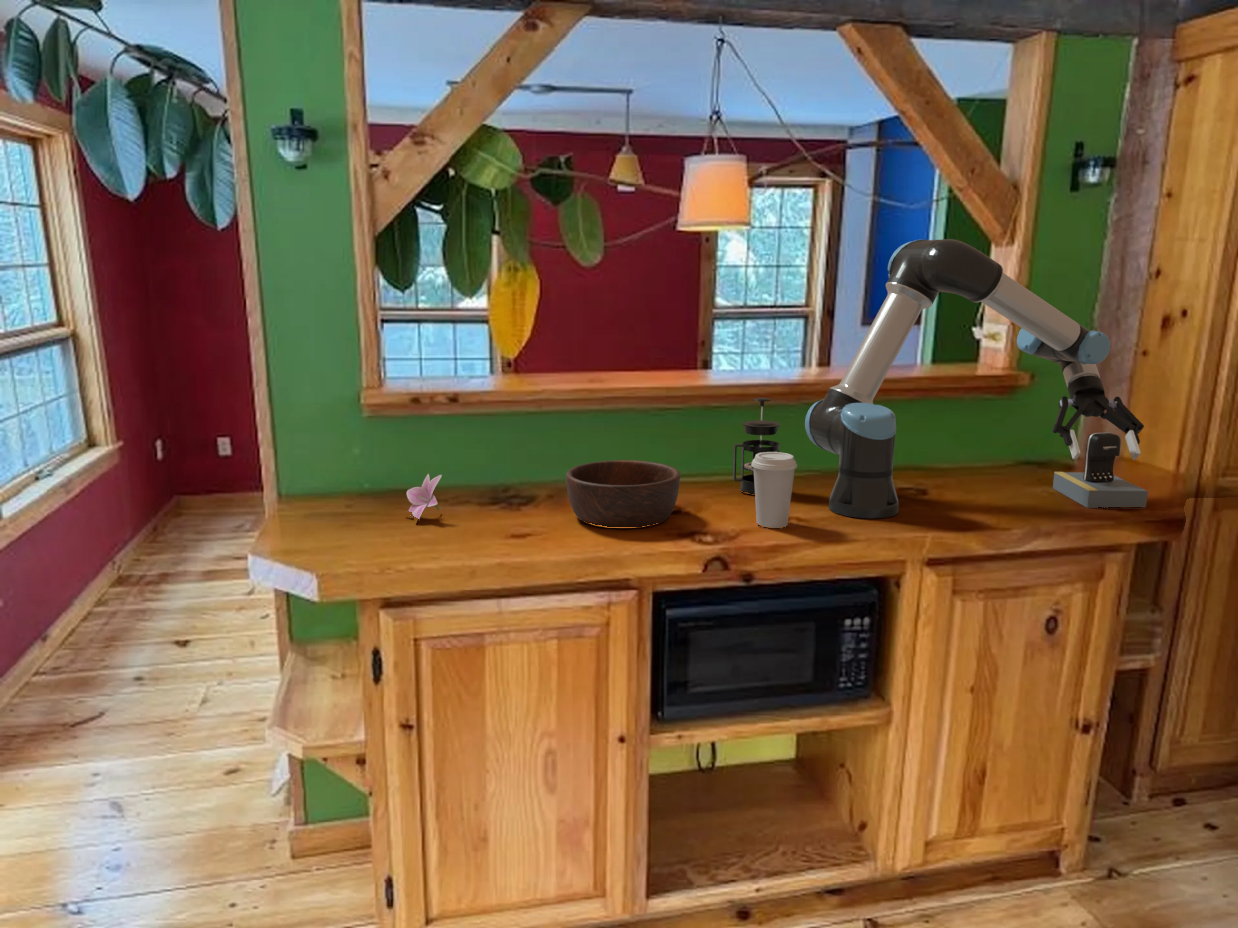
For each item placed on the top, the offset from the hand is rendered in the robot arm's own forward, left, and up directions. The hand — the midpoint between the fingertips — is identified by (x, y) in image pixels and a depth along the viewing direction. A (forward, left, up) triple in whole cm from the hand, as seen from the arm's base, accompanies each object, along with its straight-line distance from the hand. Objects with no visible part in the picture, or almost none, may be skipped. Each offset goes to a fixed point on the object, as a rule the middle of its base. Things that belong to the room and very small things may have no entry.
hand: (1106, 456), depth 207 cm
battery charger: (0, +2, -7) cm, 7 cm away
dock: (0, +2, -10) cm, 10 cm away
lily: (-155, -19, -11) cm, 157 cm away
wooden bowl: (-112, -17, -11) cm, 113 cm away
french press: (-80, +6, -11) cm, 81 cm away
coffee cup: (-80, -22, -11) cm, 83 cm away
